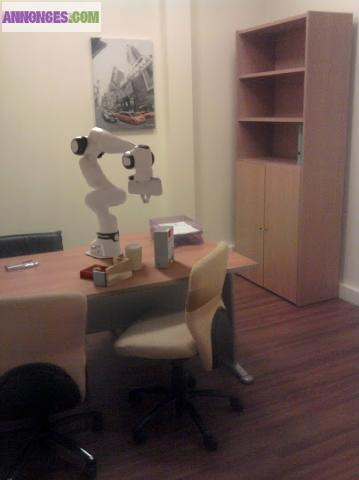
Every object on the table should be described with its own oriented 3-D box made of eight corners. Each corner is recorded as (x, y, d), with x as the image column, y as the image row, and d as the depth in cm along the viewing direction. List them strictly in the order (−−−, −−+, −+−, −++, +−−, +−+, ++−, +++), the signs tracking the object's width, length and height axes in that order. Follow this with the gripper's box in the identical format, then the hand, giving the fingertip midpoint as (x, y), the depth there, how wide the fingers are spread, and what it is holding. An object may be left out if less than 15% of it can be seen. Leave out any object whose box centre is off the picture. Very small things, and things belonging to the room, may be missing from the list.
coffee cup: (146, 267, 248) (145, 245, 245) (134, 271, 242) (132, 249, 238) (134, 263, 254) (133, 243, 251) (122, 268, 247) (120, 247, 244)
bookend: (94, 284, 225) (92, 271, 223) (96, 283, 226) (95, 270, 224) (105, 287, 221) (103, 273, 219) (107, 286, 223) (105, 272, 221)
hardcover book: (111, 284, 226) (111, 276, 225) (80, 278, 237) (79, 270, 236) (126, 277, 236) (126, 269, 234) (95, 271, 246) (95, 263, 245)
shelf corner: (93, 283, 227) (91, 265, 225) (116, 272, 241) (114, 256, 239) (109, 286, 222) (108, 269, 219) (132, 275, 236) (130, 258, 234)
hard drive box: (168, 268, 245) (167, 232, 239) (154, 268, 246) (152, 232, 241) (174, 259, 259) (173, 225, 254) (161, 259, 261) (159, 224, 255)
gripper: (164, 176, 236) (165, 203, 240) (132, 175, 247) (134, 200, 251) (157, 178, 231) (158, 205, 235) (125, 176, 242) (127, 202, 246)
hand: (145, 203), depth 243 cm, fingers closed
